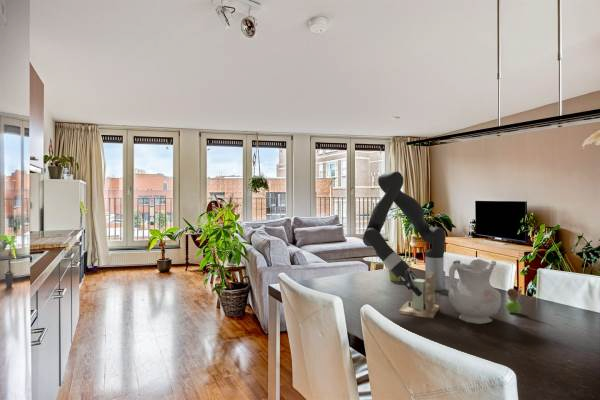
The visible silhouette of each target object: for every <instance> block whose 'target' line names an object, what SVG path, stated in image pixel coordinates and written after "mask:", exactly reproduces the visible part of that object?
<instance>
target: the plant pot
mask: <svg viewBox="0 0 600 400" xmlns="http://www.w3.org/2000/svg"><path fill="white" fill-rule="evenodd" d="M388 273H389V279H390V281H391V282H394V281H395V282H402V281H401V280H400V278H401V276H399V277H398V278H397V277H396V276H395V275H394V274H393V273H392V272H391V271H390V270H389V269H388Z"/></svg>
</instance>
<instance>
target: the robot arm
mask: <svg viewBox="0 0 600 400" xmlns="http://www.w3.org/2000/svg"><path fill="white" fill-rule="evenodd" d="M377 183H378V186H379V188H380V190H381V191H383V193H384V195H383V196H382V198H381V199H380V200H379V201H378V202H377V203H376V204H375V206H374V208H373V209H372V212H371V215H370V217H369V221H368V225H367V227H366V228H365V231H364V233H363V235H362V242H363V244H364V245H365V246H366V247H369V248H370V247H372V248H373V249H374V250H375V254H376V256H377V257H378V258H379V259H380V260H381V262H383V264H384V265H385V267H386V268H387V269H388V271H389V270H390V271H391V272H392V273H393V274H394V275H395V276H396V277H397V278H398V277H399V276H401V278H400V280H401V281H400V282H402V284H403V285H404V286H405V287H406V289H407V290H409V291H413V292H414V293H415V294H416V295H417V296H418V297H419V296H420V295H421V294H422V292H421V291H420V290H419V289H418V288H417V287H416V286H415V284H414V279H420V278H419V277H418V276H417V275H416V273H414V271H412V270H409V268H410V266H409V264H408V263H407V262H406V261H405V260H404V259H403V258H402V257H401V256H400V255H399V254H398V253H397V252H396V251H395V250H394V249H393V248H392V247H391V246H390V245H389V244H388V243H387V241H386V239H385V238H384V236H383V235H382V234H381V231H382V228H383V227H384V225H385V223H386V220H387V216H388V214H389V211H390V210H391V208H392V206H393V204H395V205H396V206H397V207H398V208H399V210H401V212H402V213H403V215H404V216H405V217H406V218H407V220H408V221H409V222H410V223H411V224H412V225H413V227H414V228H415V230H416V231H417V232H418V234H419V236H420V237H421V239H422V240H423V241H424V242H425V243H426V244H430V245H431V244H432V245H431V246H432V247H431V248H430V249H428V250H425V252H424V253H425V255H424V256H425V257H424V258H425V263H424V265H425V268H424V269H425V272H424V273H425V278H424V280H426V277H427V276H428V275H429V274H430V273H431V272H433V273H435V291H443V290H446V271H445V270H444V265H445V264H444V263H445V262H444V257H445V256H444V255H445V251H446V231H445V229H444V228H442V227H438V226H431V225H429V224H428V223H427V222H426V220H425V212H424V209H423V207H422V205H421V204H420V203H419V201H418V200H417V199H415V198H414V197H412V196H410V195H409V194H407V193H405V192H403V191H402V190H401V189H402V188H403V185H404V175H403V174H402V172H400V171H390V172H389V171H388V172H384V173H381V174H380V175H379V176H378V178H377ZM413 292H412V293H413Z"/></svg>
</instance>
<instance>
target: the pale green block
mask: <svg viewBox="0 0 600 400" xmlns="http://www.w3.org/2000/svg"><path fill="white" fill-rule="evenodd" d="M414 284H415V286H416V287H417V288H418V289H419V290H420V291H421V292H422V294H421V295H420V296H419V297H418V296H417V295H416V294H415V293H414V292H413V291H412V290H411V291H412V302H413V309H418V310H424V304H426V280H425V278H423V279H422V278H419V279H414Z"/></svg>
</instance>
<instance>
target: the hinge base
mask: <svg viewBox="0 0 600 400" xmlns="http://www.w3.org/2000/svg"><path fill="white" fill-rule="evenodd" d="M435 292H436V290H435V273H433V272H431V273H430V274H429V275H428V276H427V277H426V304H424V310H418V309H413V301H409V300H407V301H406V302H405V303H404V304H403V305H402V306H401V307H400V309H399V310H398V314H399V315H409V316H415V317H421V318H430V319H434V318H435V316H436V315H437V313H438V311H439V309H440V304H436V303H435V302H436V298H435V297H436V294H435Z"/></svg>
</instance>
